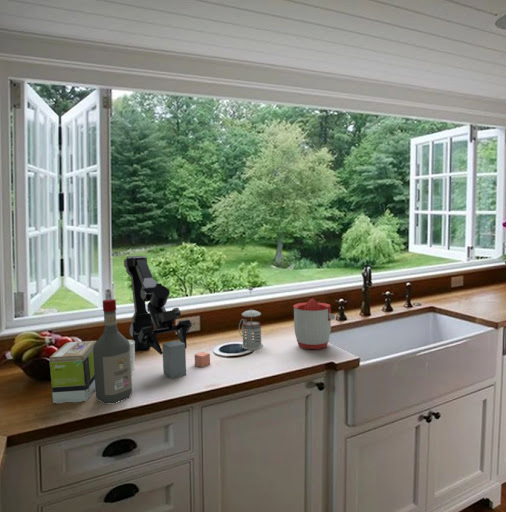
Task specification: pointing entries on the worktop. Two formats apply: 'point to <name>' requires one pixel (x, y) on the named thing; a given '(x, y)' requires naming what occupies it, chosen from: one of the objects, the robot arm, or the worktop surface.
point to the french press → (251, 330)
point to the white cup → (132, 353)
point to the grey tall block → (174, 359)
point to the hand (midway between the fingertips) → (174, 351)
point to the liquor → (112, 360)
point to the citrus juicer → (312, 324)
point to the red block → (202, 359)
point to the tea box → (73, 372)
